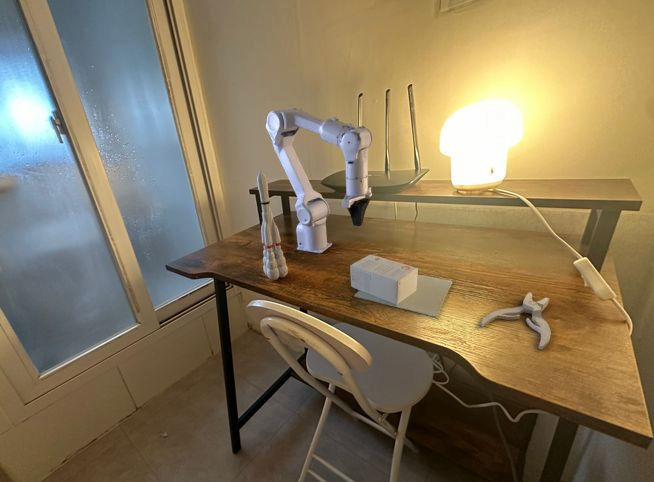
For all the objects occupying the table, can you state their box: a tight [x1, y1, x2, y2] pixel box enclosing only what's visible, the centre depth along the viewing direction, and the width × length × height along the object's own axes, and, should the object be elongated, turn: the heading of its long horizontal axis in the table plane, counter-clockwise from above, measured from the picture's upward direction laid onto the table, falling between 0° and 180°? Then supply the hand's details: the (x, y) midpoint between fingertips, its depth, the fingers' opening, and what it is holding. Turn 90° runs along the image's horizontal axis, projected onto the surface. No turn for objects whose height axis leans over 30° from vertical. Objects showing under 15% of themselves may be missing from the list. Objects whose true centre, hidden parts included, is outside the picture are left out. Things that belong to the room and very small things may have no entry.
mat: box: [353, 273, 453, 318], centre depth 73 cm, size 18×16×1 cm
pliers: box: [479, 291, 552, 351], centre depth 58 cm, size 10×2×15 cm
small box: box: [349, 254, 419, 305], centre depth 72 cm, size 8×6×13 cm
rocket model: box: [256, 169, 289, 281], centre depth 81 cm, size 7×7×30 cm
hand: (357, 225), depth 86 cm, fingers closed
